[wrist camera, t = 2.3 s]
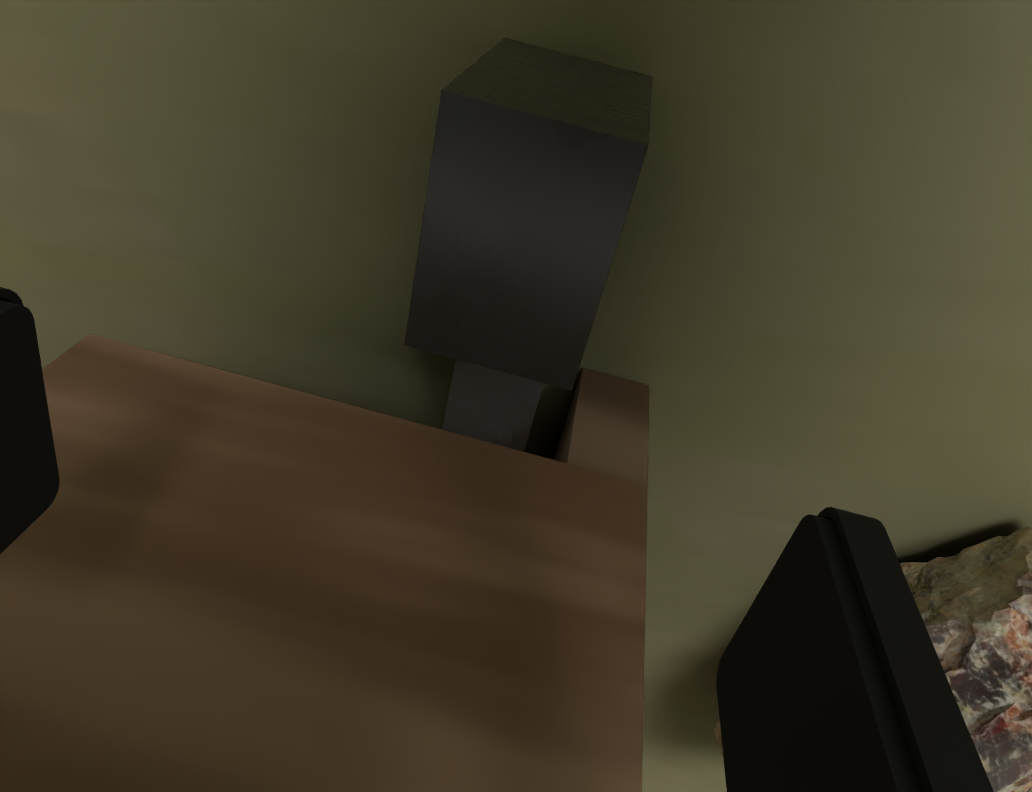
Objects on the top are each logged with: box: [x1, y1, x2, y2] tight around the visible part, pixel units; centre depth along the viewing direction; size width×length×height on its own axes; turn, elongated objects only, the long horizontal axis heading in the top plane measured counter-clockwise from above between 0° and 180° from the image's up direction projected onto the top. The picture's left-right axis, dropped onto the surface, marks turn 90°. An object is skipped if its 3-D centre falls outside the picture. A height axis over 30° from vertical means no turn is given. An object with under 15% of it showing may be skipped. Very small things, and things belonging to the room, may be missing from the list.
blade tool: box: [405, 38, 652, 452], centre depth 20 cm, size 20×4×6 cm, turn 168°
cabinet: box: [0, 334, 649, 792], centre depth 19 cm, size 18×14×18 cm
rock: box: [714, 527, 1032, 792], centre depth 22 cm, size 7×11×10 cm
